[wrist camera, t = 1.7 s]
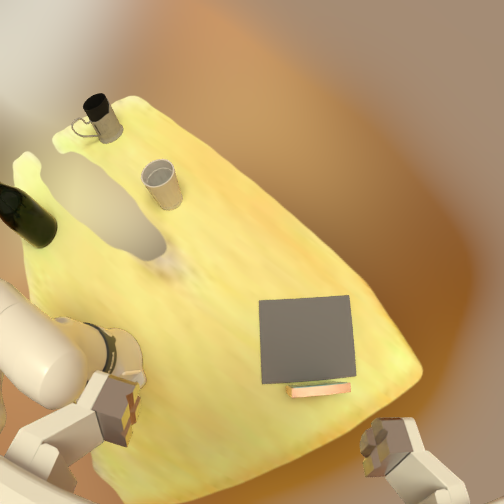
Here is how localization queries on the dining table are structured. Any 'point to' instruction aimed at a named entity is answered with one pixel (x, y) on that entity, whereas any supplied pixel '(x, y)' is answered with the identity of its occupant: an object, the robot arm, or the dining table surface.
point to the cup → (162, 183)
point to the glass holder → (101, 119)
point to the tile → (317, 389)
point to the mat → (306, 339)
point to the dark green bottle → (26, 216)
